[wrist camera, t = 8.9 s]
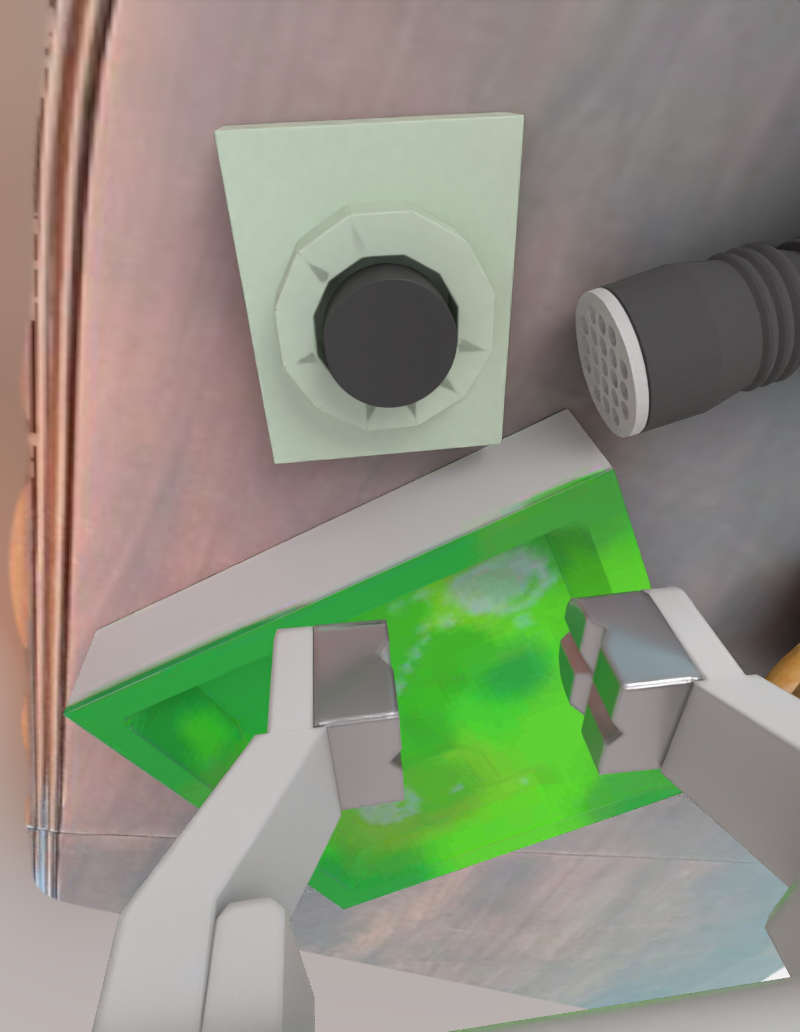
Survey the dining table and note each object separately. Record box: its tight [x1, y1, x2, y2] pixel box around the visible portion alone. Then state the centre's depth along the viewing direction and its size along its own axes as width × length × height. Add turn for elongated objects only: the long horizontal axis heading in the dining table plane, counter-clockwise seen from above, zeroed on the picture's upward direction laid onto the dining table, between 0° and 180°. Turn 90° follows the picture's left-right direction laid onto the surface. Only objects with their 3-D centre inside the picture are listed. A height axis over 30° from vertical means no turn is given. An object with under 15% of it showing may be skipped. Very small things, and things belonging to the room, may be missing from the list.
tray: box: [63, 408, 683, 909], centre depth 33 cm, size 25×25×5 cm
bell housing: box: [214, 112, 524, 464], centre depth 21 cm, size 11×9×4 cm
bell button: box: [324, 263, 457, 408], centre depth 19 cm, size 4×4×2 cm
